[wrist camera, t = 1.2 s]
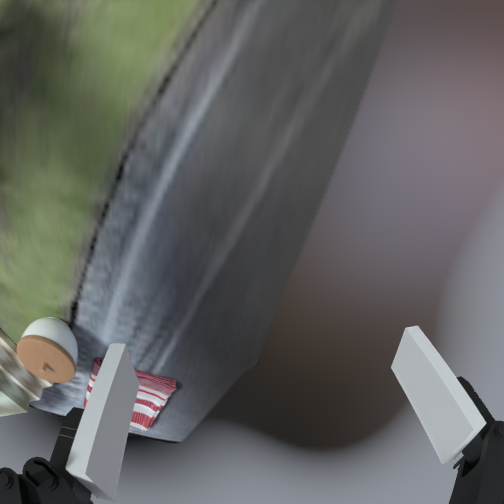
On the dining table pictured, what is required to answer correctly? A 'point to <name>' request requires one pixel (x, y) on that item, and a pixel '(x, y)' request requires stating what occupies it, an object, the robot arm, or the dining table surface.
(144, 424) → the dish towel
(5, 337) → the brick tower
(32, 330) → the lidded jar
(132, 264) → the dining table surface
